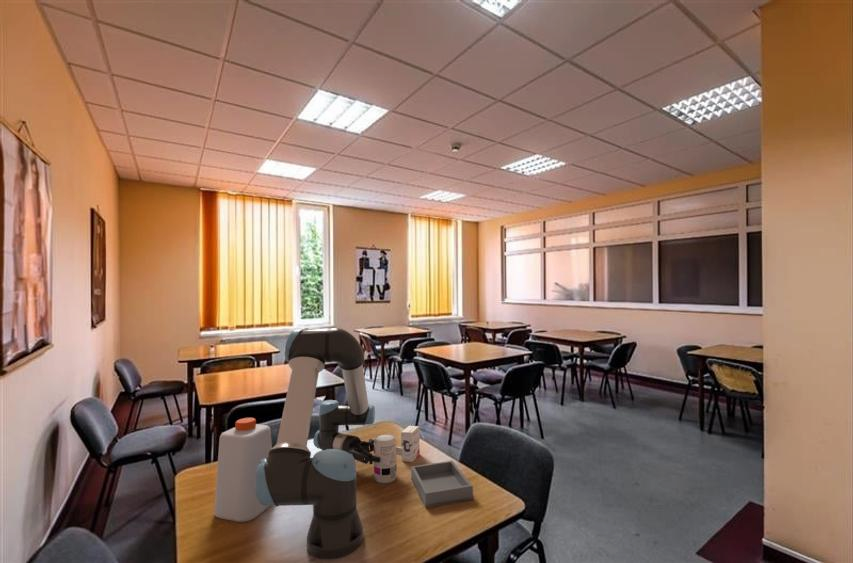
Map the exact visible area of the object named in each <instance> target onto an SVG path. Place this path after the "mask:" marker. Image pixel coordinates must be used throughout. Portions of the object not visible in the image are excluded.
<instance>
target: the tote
mask: <svg viewBox="0 0 853 563" xmlns="http://www.w3.org/2000/svg"><path fill="white" fill-rule="evenodd" d="M410 474H411V475H410V476H411V481H412V483H413V484H414V487H415V489H416V491H417V493H418V495H419V497H420V500H421V502H422V504H423V506H424V508H425V509H429V508H433V507H440V506H447V505H452V504H457V503H462V502H469V501H474V488H473V487H474V486H473V484H472V483H471V482H470V480H469V479H468V478H467V477H466V476H465V474H464V473H463V472H462V471H461V469H460V468H459V467H458V465H457V464H456V463H455V462H454V461H453V460H448V461H447V460H446V461H441V462H433V463H426V464H420V465H412V466H411V467H410Z"/></svg>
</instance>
